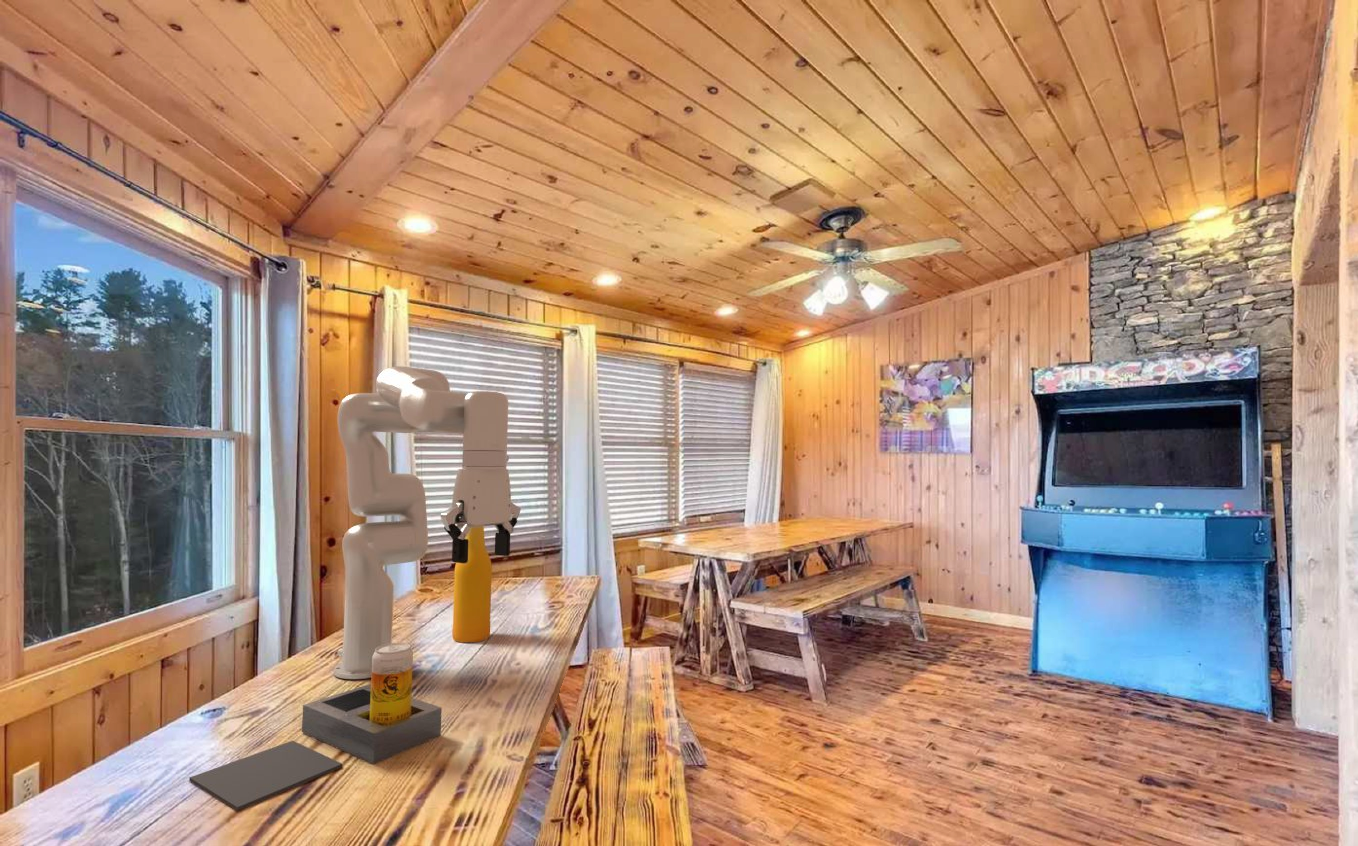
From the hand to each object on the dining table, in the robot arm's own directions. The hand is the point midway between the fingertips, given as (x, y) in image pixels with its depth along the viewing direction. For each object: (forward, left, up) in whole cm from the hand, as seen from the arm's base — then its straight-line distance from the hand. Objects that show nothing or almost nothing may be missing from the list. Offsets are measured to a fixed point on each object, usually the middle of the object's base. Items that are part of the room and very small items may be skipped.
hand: (481, 558), depth 111 cm
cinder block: (-12, -12, -29) cm, 33 cm away
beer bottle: (-43, +35, -29) cm, 62 cm away
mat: (-12, -28, -29) cm, 42 cm away
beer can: (-7, -12, -29) cm, 32 cm away
